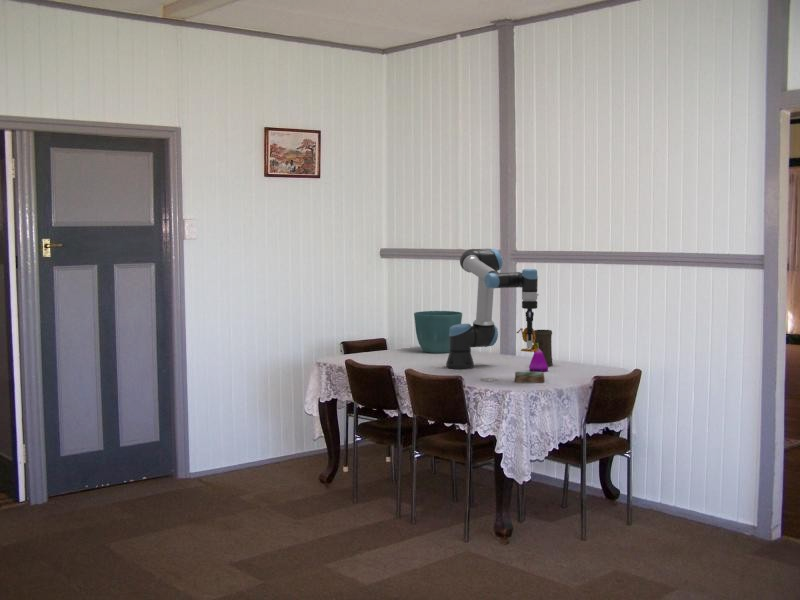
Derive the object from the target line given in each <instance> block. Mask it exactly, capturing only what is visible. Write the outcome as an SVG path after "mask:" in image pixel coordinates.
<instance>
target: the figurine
mask: <svg viewBox="0 0 800 600" xmlns="http://www.w3.org/2000/svg"><path fill="white" fill-rule="evenodd" d="M534 330H535V329H534V328H533V327H532V331H533V332H532V345H533V347H531V348H527V349H526V348H521V349H520V351H521V352H528V353H530V352H531V353H534V352H536V351H539V349H538V348H536V346H535V345H536V343H535V341H534V340H535V338H536V337H535V331H534ZM520 332H521V336H522V337H521V338H522V340H523V342H525V343H527V334H526V332H527V327H525V328H521V327H520V329H519V330H518V331H516V334H519V333H520Z"/></svg>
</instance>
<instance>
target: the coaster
mask: <svg viewBox="0 0 800 600" xmlns="http://www.w3.org/2000/svg"><path fill="white" fill-rule="evenodd" d="M479 381H480V382H484V381H485V382H486V383H487V382H488V383H489V382H490V383H491V382H497V381H499V379H498V378H496V377H495V378H494V377H482V378H481V377H480V378H479Z"/></svg>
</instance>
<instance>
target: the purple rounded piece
mask: <svg viewBox="0 0 800 600" xmlns="http://www.w3.org/2000/svg"><path fill="white" fill-rule="evenodd" d="M536 345H537V346H536V347H537V348H538V349H539V346H538V343H536ZM532 347H533V344H532ZM532 347H526V348H525V349H531V348H532ZM528 369H529V370H530V371H529V372H547V371H548V369H549V367H548V366H547V363H546V361H545V358H544V355H543V353H542V351H541V350H540V349H539V351H536V352H533V355H532V358H531V359H530V363H529V366H528Z"/></svg>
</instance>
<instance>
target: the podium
mask: <svg viewBox="0 0 800 600" xmlns="http://www.w3.org/2000/svg"><path fill="white" fill-rule="evenodd" d="M514 382H515V383H538V384H539V383H545V375H544V371H542V372H536V371H515V372H514Z"/></svg>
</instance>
